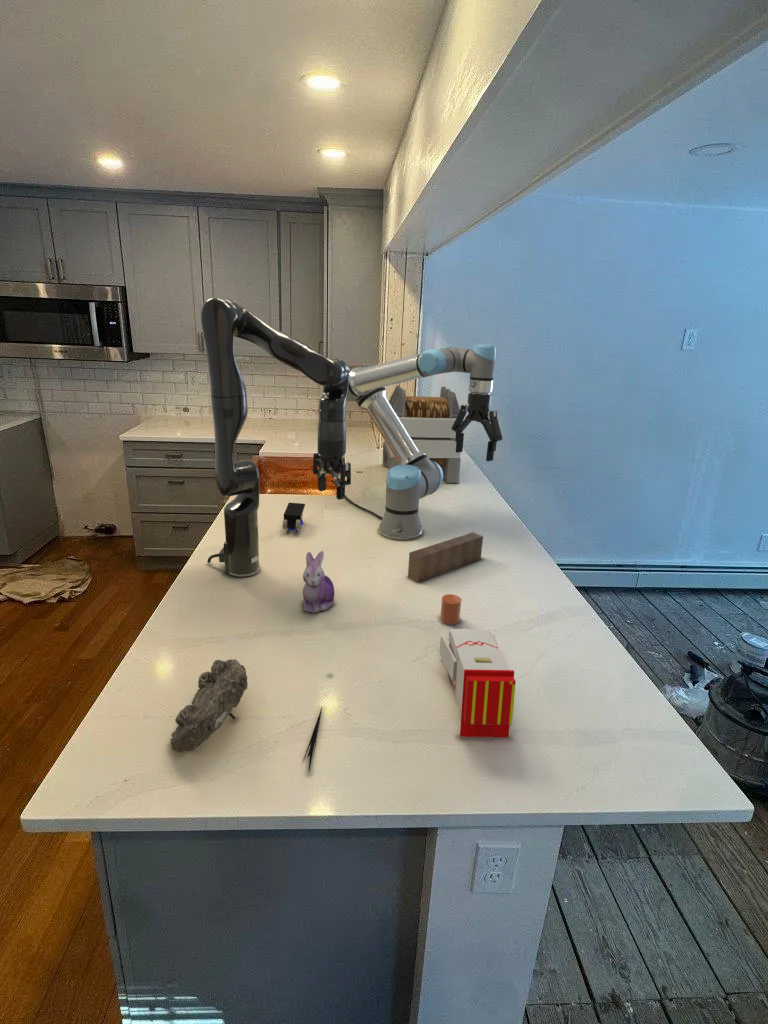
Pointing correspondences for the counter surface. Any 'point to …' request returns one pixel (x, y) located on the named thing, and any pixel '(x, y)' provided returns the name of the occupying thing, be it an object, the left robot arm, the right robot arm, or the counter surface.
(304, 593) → the figurine
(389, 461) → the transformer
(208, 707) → the fossil
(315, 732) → the feather
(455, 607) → the cylinder block
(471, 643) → the toy
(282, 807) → the counter surface
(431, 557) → the bar
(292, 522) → the figurine character
